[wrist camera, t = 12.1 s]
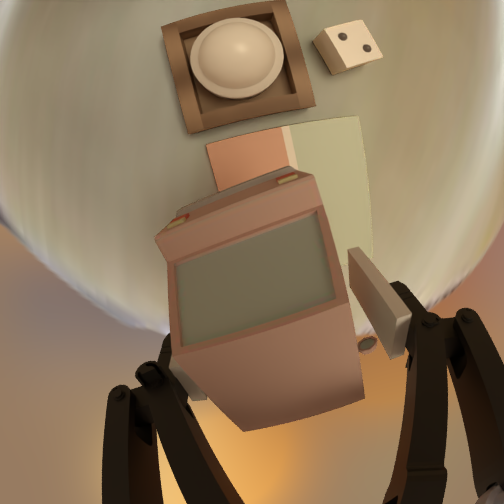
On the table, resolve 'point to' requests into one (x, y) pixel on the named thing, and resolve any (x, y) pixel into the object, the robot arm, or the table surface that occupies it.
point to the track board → (309, 170)
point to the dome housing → (229, 111)
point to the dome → (237, 58)
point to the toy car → (262, 302)
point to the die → (346, 46)
